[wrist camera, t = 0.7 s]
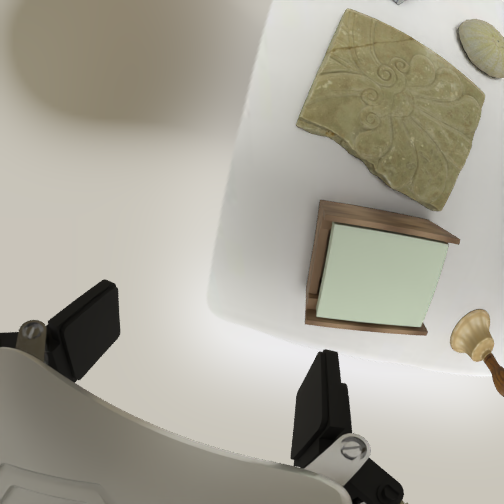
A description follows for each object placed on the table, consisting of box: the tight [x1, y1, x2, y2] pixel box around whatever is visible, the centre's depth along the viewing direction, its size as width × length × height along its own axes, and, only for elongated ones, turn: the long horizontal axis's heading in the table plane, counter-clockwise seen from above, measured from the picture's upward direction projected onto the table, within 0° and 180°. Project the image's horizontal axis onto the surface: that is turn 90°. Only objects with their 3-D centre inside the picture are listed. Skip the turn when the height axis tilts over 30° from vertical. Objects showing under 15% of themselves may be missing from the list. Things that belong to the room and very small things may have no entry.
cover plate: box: [316, 222, 449, 327], centre depth 24 cm, size 12×9×2 cm
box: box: [305, 200, 460, 336], centre depth 27 cm, size 14×11×8 cm
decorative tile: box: [296, 9, 485, 211], centre depth 23 cm, size 19×20×4 cm
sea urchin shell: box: [459, 19, 504, 78], centre depth 15 cm, size 9×8×8 cm
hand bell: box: [450, 309, 504, 397], centre depth 24 cm, size 8×8×16 cm
